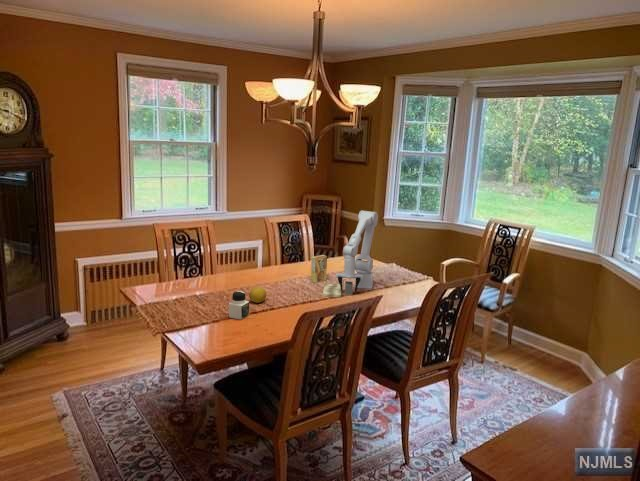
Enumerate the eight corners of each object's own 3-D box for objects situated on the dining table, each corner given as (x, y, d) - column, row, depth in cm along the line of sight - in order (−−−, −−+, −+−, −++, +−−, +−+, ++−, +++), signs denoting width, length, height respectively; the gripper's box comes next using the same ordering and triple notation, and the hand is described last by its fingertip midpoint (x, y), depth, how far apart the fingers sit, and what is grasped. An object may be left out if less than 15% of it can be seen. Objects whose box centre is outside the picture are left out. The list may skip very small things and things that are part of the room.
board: (341, 286, 281) (341, 284, 281) (341, 297, 263) (341, 295, 262) (324, 285, 282) (324, 283, 282) (322, 296, 263) (322, 294, 263)
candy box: (322, 278, 295) (322, 254, 291) (326, 280, 292) (327, 255, 288) (310, 281, 289) (311, 256, 286) (315, 283, 286) (315, 258, 283)
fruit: (259, 306, 246) (259, 291, 245) (246, 303, 250) (246, 288, 248) (269, 301, 254) (269, 286, 252) (256, 298, 258) (256, 283, 256)
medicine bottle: (241, 320, 227) (241, 295, 225) (228, 317, 230) (228, 293, 227) (249, 315, 234) (249, 291, 231) (236, 312, 236) (236, 289, 234)
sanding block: (352, 291, 272) (352, 281, 271) (352, 295, 265) (352, 285, 264) (345, 291, 272) (345, 281, 271) (344, 295, 266) (345, 285, 264)
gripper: (336, 268, 262) (335, 292, 265) (363, 269, 261) (361, 293, 264) (336, 264, 269) (335, 288, 272) (362, 266, 268) (361, 289, 271)
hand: (348, 290), depth 268 cm, fingers open, 7 cm apart
